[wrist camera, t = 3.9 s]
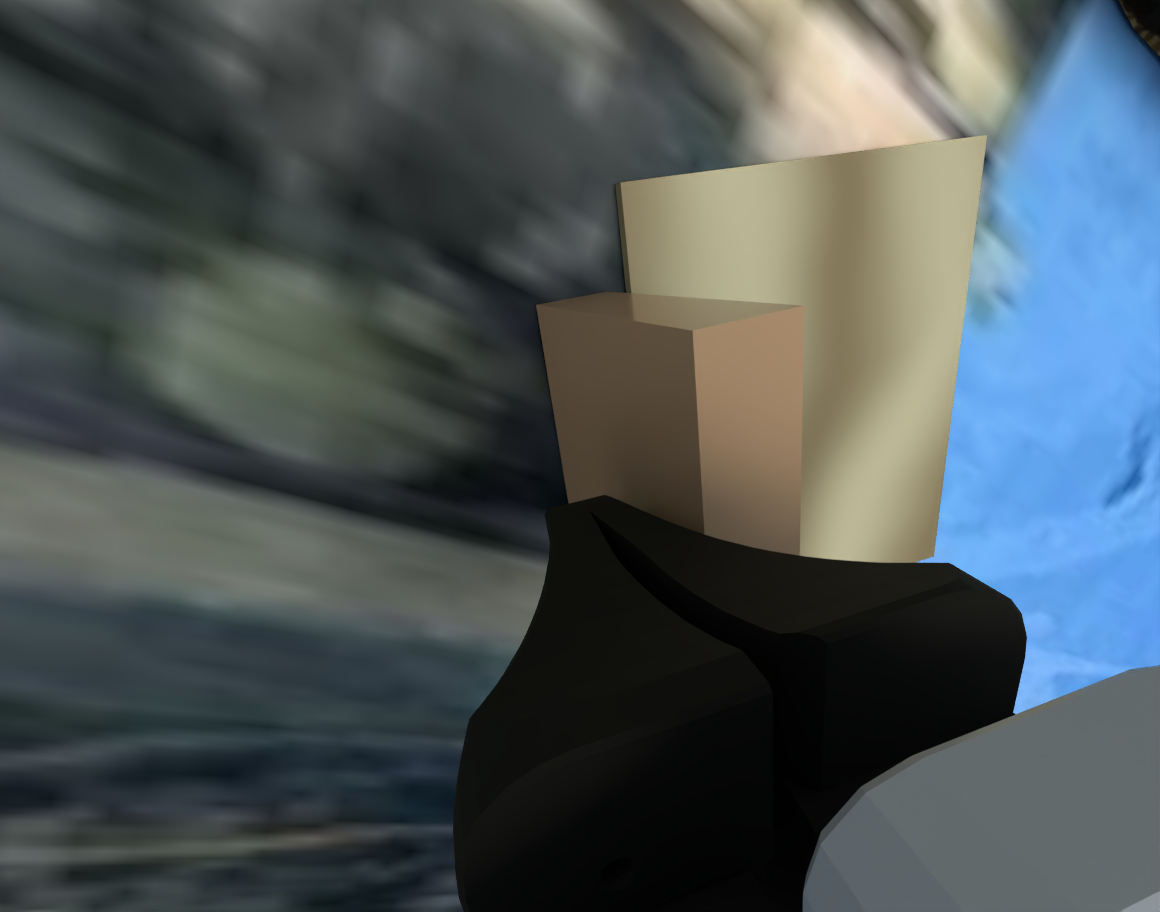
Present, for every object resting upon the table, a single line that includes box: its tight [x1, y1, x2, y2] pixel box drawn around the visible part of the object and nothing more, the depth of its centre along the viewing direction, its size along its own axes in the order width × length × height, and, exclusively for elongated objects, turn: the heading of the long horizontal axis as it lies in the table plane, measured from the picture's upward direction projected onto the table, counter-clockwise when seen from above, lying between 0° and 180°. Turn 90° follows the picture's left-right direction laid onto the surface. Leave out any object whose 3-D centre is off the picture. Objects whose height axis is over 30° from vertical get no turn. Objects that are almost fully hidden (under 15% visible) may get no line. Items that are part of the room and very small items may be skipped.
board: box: [615, 135, 987, 563], centre depth 17 cm, size 11×14×1 cm
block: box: [536, 292, 804, 555], centre depth 13 cm, size 2×9×7 cm, turn 9°
